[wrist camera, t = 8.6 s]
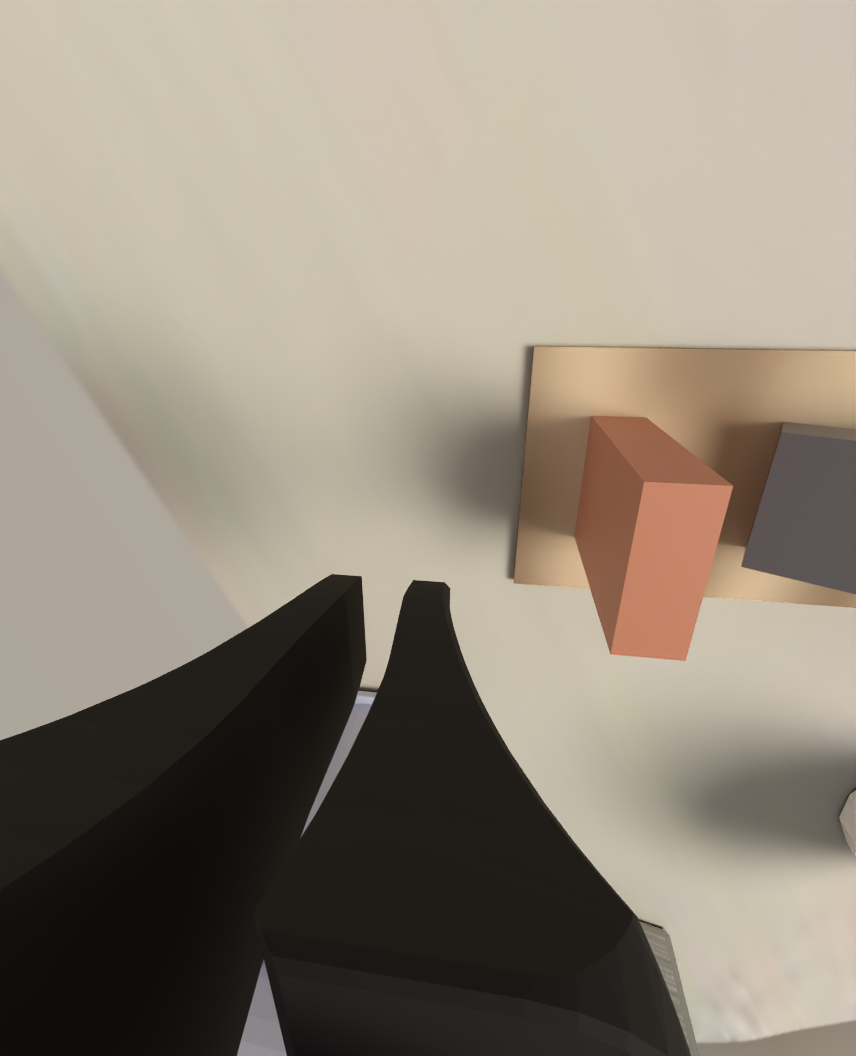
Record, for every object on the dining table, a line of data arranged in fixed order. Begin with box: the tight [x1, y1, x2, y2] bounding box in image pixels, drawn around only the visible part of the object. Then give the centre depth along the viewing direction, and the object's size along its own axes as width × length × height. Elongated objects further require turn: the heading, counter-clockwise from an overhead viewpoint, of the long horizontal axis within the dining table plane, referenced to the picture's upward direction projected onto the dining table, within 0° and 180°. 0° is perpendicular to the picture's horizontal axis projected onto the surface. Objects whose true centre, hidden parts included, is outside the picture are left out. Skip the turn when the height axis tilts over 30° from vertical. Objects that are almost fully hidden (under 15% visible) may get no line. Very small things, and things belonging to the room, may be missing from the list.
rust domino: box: [574, 416, 733, 661], centre depth 15 cm, size 2×5×7 cm, turn 179°
